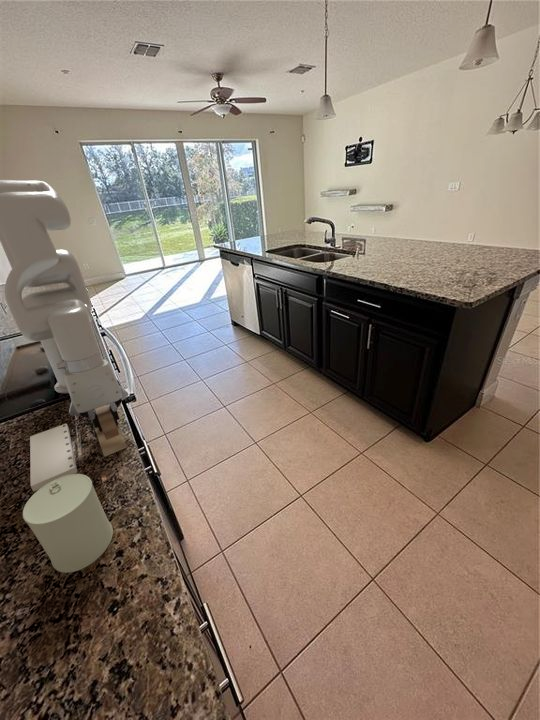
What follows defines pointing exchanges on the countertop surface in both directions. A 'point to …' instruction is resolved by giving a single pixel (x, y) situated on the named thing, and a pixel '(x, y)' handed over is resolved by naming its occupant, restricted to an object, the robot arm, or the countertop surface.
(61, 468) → the board
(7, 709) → the countertop surface
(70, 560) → the can
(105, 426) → the stub
